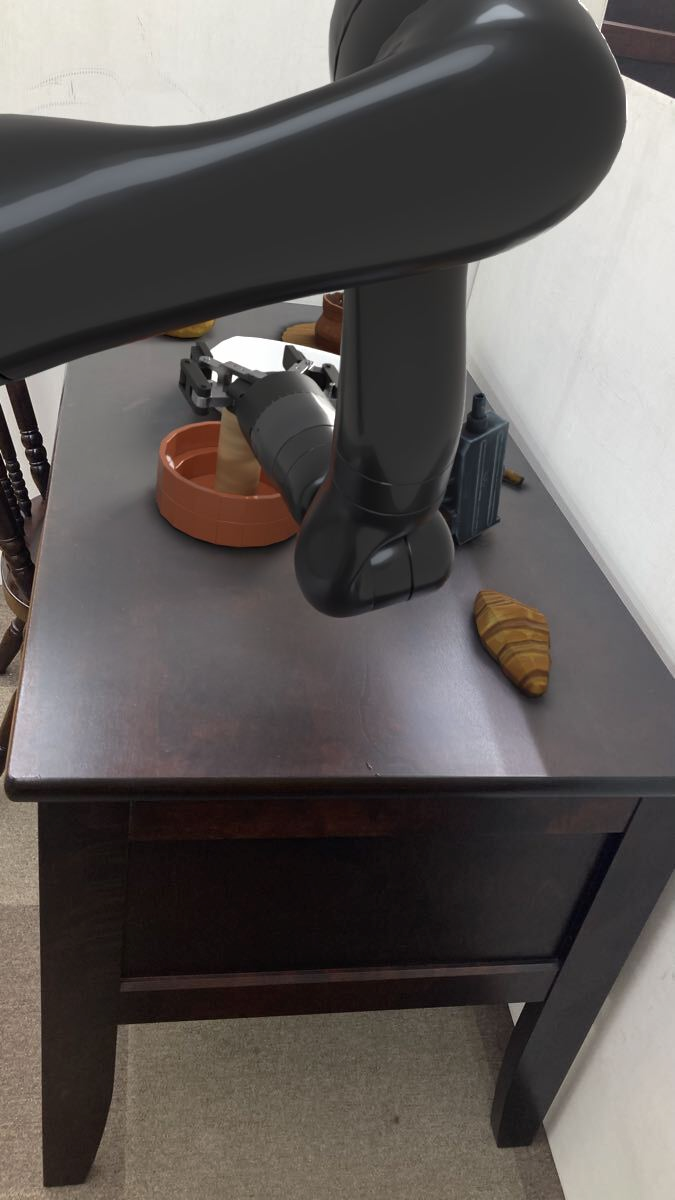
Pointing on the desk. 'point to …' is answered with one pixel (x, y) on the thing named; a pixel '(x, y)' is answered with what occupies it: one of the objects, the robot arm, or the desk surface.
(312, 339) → the ceramic pot
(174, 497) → the clay bowl
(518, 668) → the croissant
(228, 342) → the bowl
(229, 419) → the tan cylinder
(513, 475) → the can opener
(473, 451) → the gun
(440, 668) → the desk surface
